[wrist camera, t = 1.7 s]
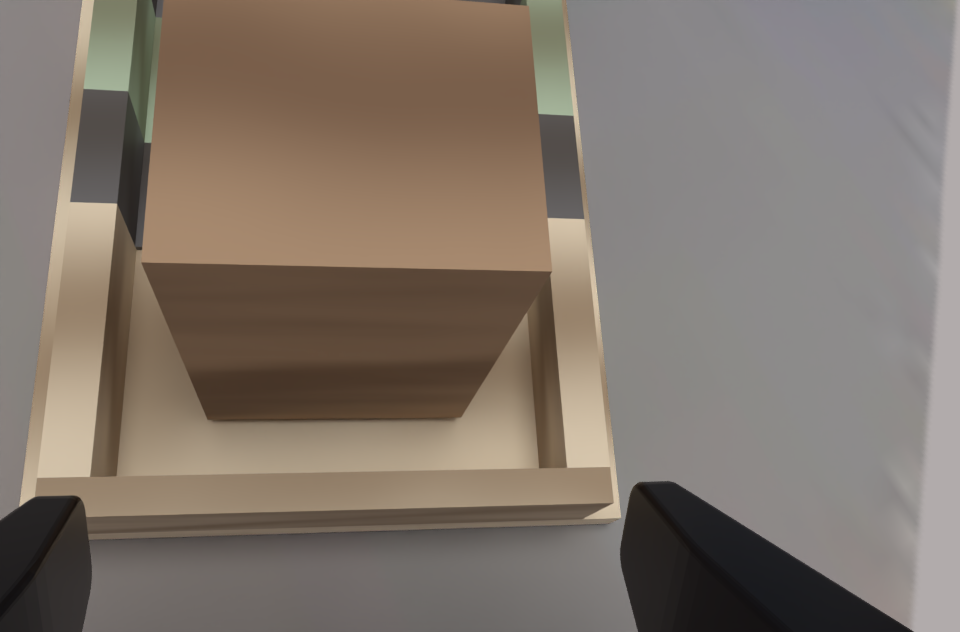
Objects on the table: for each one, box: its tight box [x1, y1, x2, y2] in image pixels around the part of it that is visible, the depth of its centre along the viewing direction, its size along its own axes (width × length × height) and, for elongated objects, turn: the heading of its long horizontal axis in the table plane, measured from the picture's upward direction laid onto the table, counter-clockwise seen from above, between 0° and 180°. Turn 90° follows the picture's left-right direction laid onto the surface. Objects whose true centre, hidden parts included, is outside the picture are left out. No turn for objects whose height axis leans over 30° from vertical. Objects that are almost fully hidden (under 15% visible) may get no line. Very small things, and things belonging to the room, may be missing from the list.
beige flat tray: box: [19, 0, 621, 540], centre depth 24 cm, size 21×14×4 cm, turn 3°
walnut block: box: [141, 0, 552, 420], centre depth 18 cm, size 5×6×9 cm
